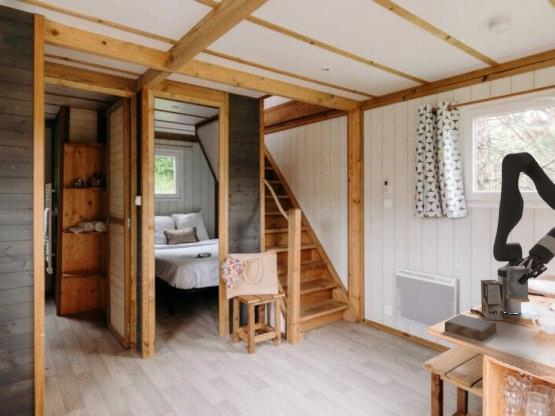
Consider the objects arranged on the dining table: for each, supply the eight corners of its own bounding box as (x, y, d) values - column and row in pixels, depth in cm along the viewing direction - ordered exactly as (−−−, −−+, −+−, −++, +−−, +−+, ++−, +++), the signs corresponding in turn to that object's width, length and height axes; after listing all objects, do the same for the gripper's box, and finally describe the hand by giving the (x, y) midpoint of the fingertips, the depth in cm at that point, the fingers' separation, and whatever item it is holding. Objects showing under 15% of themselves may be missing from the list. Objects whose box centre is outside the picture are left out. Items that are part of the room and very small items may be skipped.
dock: (444, 330, 157) (444, 321, 156) (460, 322, 165) (459, 313, 164) (481, 341, 145) (481, 331, 145) (496, 331, 153) (496, 322, 152)
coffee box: (503, 320, 164) (503, 284, 163) (487, 320, 166) (487, 284, 165) (495, 313, 173) (495, 279, 172) (481, 312, 174) (480, 279, 173)
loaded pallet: (506, 298, 149) (505, 266, 148) (520, 297, 149) (519, 265, 148) (514, 302, 143) (514, 269, 142) (529, 301, 143) (529, 269, 142)
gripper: (526, 240, 151) (497, 270, 153) (552, 246, 137) (520, 279, 138) (539, 252, 152) (510, 282, 153) (566, 259, 137) (534, 293, 139)
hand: (515, 281), depth 146 cm, fingers closed on loaded pallet, 5 cm apart
